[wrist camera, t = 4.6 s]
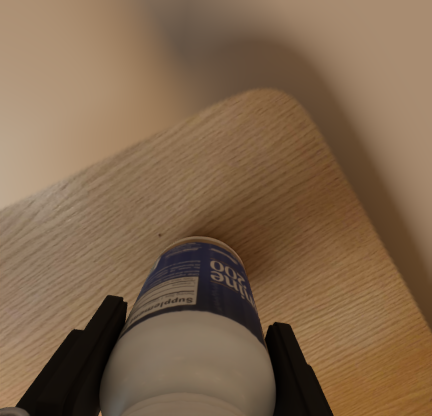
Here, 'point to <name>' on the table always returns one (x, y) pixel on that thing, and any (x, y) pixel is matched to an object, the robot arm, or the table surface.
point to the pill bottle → (191, 341)
